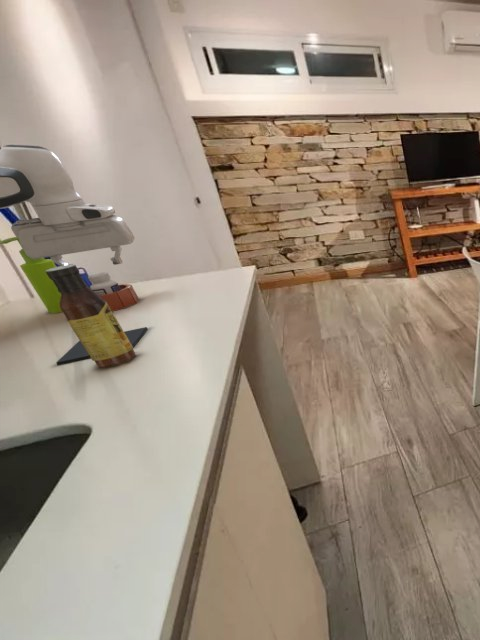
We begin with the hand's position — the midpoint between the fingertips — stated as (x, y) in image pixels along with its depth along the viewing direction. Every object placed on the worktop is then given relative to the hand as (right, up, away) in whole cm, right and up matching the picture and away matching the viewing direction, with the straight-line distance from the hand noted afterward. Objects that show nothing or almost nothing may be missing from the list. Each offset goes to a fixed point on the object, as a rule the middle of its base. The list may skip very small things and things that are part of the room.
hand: (95, 267), depth 123 cm
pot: (+1, -10, +5) cm, 11 cm away
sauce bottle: (+33, -23, -27) cm, 49 cm away
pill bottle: (+1, -10, +5) cm, 11 cm away
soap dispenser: (-14, -11, +5) cm, 19 cm away
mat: (+23, -20, -20) cm, 36 cm away
